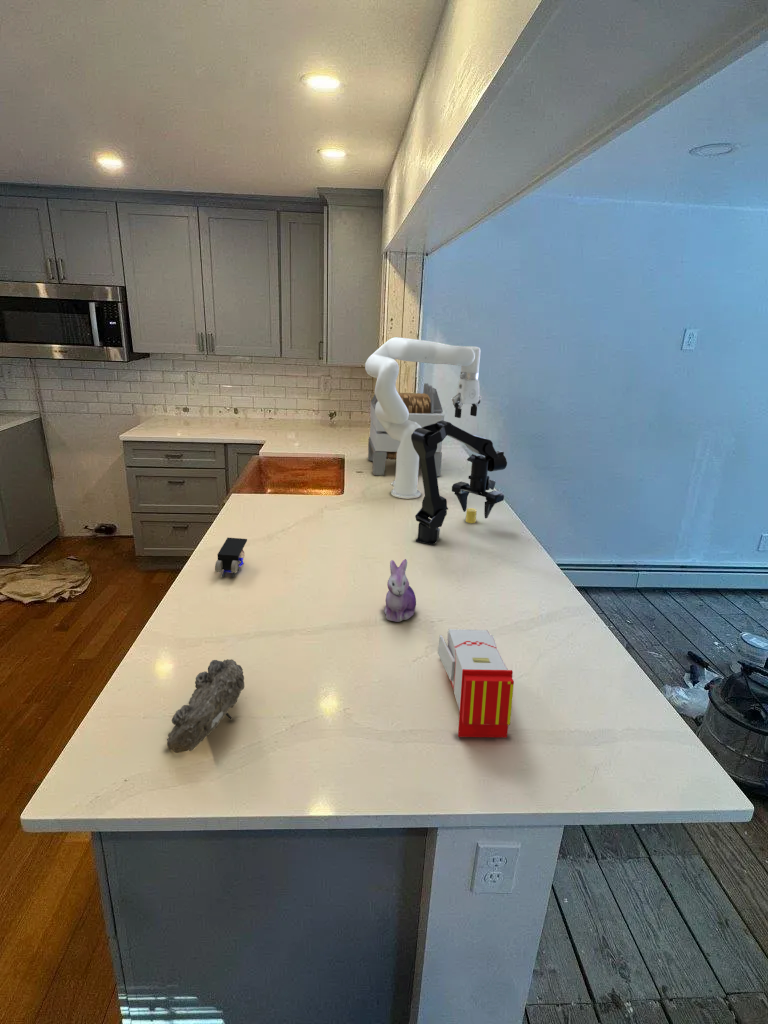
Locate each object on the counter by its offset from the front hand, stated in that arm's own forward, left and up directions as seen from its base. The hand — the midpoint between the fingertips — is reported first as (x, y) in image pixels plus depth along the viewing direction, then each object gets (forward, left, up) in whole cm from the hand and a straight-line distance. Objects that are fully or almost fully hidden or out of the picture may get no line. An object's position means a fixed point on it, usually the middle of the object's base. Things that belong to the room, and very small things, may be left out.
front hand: (475, 514), depth 204 cm
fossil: (-18, -121, -6) cm, 122 cm away
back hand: (-21, +51, +25) cm, 61 cm away
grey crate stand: (-56, +67, -6) cm, 87 cm away
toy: (+24, -91, -6) cm, 94 cm away
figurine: (-1, -68, -6) cm, 68 cm away
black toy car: (-55, -68, -6) cm, 87 cm away
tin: (-4, +9, -6) cm, 11 cm away
